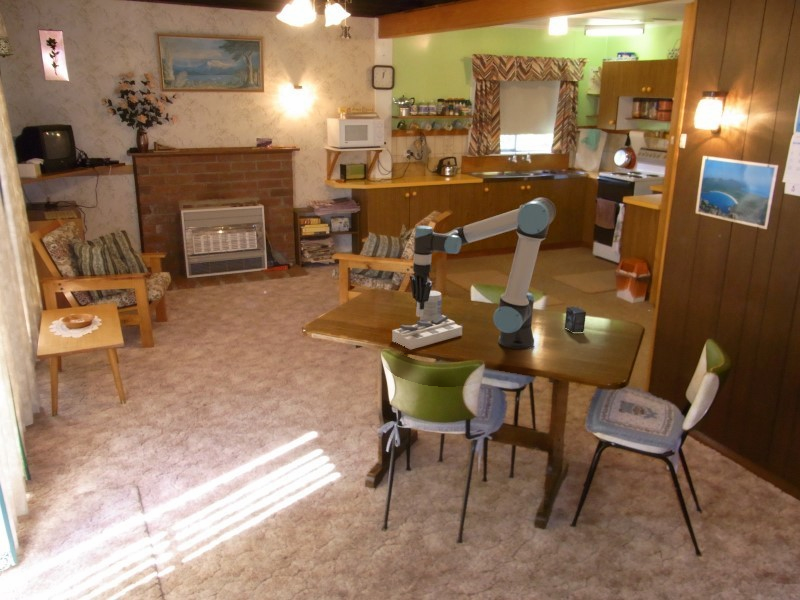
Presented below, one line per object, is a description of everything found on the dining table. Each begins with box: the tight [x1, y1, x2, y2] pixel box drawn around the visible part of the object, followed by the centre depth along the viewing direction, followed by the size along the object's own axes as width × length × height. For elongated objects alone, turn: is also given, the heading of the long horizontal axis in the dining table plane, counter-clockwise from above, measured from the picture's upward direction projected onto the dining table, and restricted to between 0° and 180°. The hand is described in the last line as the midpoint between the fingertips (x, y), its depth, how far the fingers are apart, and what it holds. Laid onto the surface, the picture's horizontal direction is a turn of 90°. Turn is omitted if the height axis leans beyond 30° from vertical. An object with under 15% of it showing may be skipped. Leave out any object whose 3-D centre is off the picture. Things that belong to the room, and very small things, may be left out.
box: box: [564, 306, 587, 332], centre depth 314 cm, size 8×6×11 cm
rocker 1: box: [399, 324, 417, 331], centre depth 295 cm, size 3×7×2 cm, turn 130°
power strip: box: [391, 318, 464, 350], centre depth 302 cm, size 12×36×5 cm, turn 130°
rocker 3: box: [431, 314, 449, 325], centre depth 307 cm, size 3×7×2 cm, turn 130°
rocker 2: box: [415, 320, 433, 327], centre depth 301 cm, size 3×7×2 cm, turn 130°
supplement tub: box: [419, 290, 442, 322], centre depth 318 cm, size 10×10×15 cm
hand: (419, 315), depth 298 cm, fingers closed
